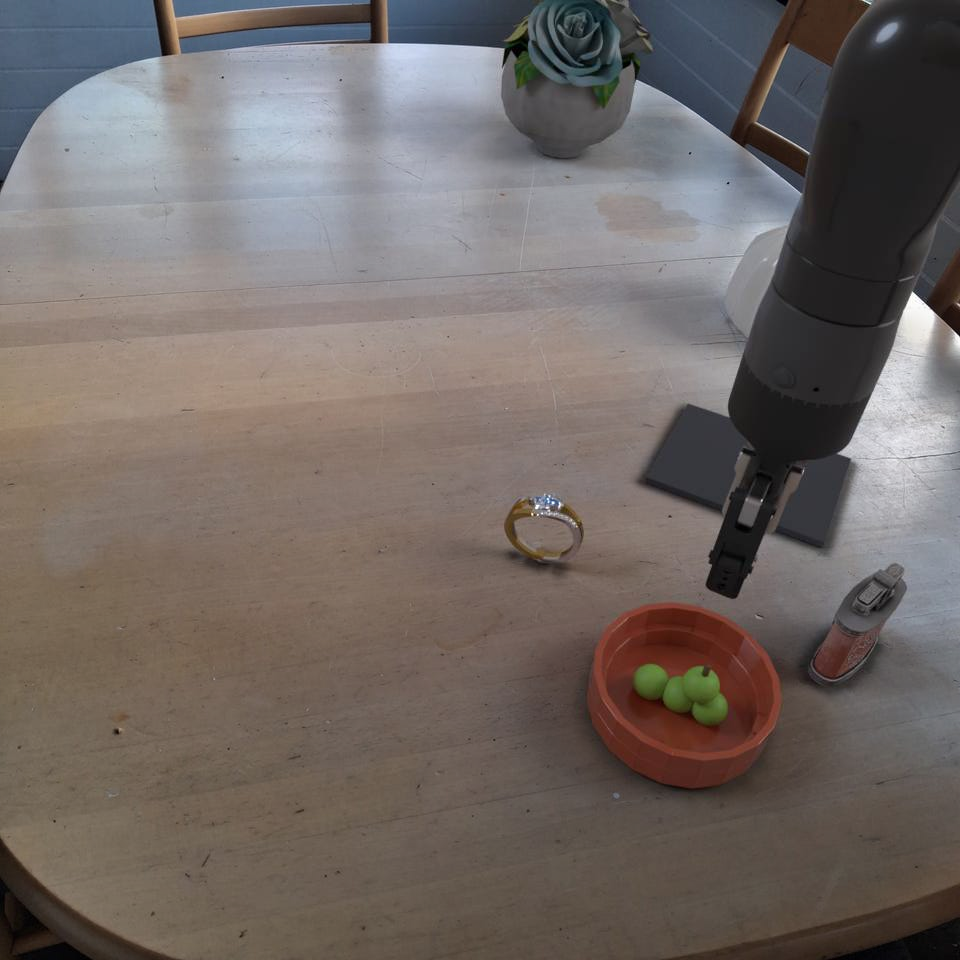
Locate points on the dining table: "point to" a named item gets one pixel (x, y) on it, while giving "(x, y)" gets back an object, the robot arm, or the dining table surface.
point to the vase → (753, 278)
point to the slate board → (711, 471)
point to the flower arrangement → (572, 73)
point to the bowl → (679, 736)
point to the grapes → (684, 692)
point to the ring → (545, 508)
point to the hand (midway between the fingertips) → (739, 550)
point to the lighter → (858, 626)
